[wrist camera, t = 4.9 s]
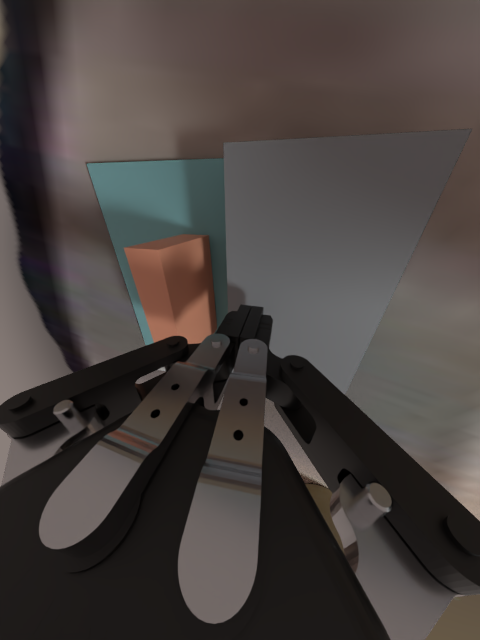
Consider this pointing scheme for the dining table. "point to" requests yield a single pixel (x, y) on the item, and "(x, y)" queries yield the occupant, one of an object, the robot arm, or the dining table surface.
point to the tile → (175, 286)
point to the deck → (329, 234)
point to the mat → (164, 214)
